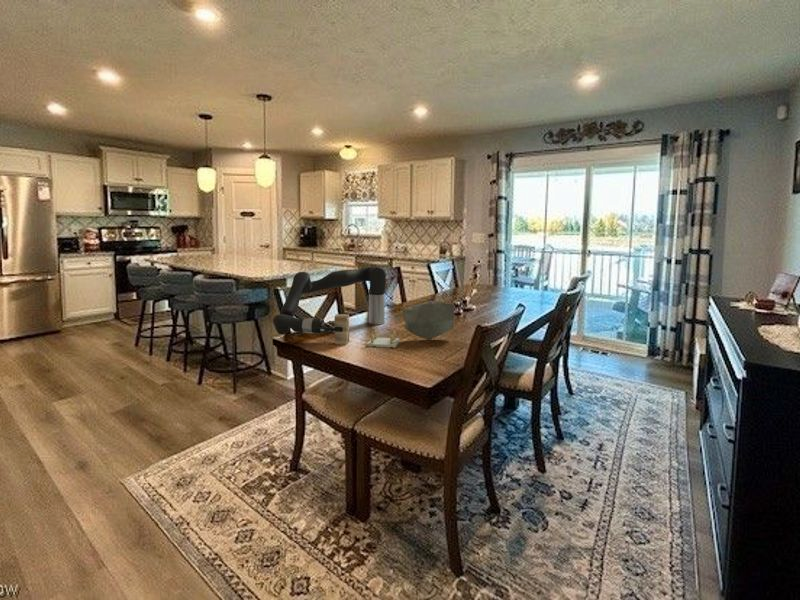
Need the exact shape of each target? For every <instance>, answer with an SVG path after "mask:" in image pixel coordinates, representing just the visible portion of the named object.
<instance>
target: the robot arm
mask: <svg viewBox="0 0 800 600" xmlns="http://www.w3.org/2000/svg"><path fill="white" fill-rule="evenodd" d="M311 280H312V279H311V276H310V273H308V272H306V271H299V272H296V273H295V275H294V276H293V279H292V282H291V283H292V284H291V287H290V290H289V292H288V294H287V296H286V299H285V301H284V303H283V305H282V307H281V309H280V313H279V314H277V315H275V316H274V317H273V318H272V323H273V325H274V329H275V331H276V332H277V333H278V335H282V336H283V335H286V334H288V333H289V332H290V330H292V331H293V332H295V333H306V334H313V335H314V334H316V335H322V334H323V333H324V334H333V333H335V332H342V331H343V327H335V320H329V321H327V322H325V320H324V319H323V318H320V317H319V318H318V317H315V318H313V317H308V318H307V317H305V318H304V317H303V318H301V317H296V316H295V314H296V312H297V310H298V307H299V304H300V299H301V295H305V294H309V293H314V292H318V291H323V290H329V289H336V288H343V287H344V288H345V287H349V286H352V285H355V284H358V283H361V282H369V289H368V324H370V325H383V324H385V323H386V320H385V317H386V314H385V313H386V311H385V310H386V306H385V305H386V304H385V303H386V302H385V301H386V299H385V297H386V294H385V292H386V287H387V274H386V271H385V269H384V268H382V267H381V266H379V265H372V266H369V267H364V268H360V269H359V268H358V269H344V270H335V271H331V272H330V273H328V274H326V275H325V276H324V277H322V278H320V279H318V280H313V281H311Z"/></svg>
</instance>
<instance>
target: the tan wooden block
mask: <svg viewBox="0 0 800 600" xmlns="http://www.w3.org/2000/svg"><path fill="white" fill-rule="evenodd" d="M334 321H335V327H343V331H342V332H334V345H345V344H347V345H348V344H349V343H350V314H343V313H340V314H339V313H336V314H335V315H334Z"/></svg>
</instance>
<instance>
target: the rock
mask: <svg viewBox="0 0 800 600" xmlns="http://www.w3.org/2000/svg"><path fill="white" fill-rule="evenodd" d="M455 309H456V308H455V305H454V304H453V303H448V302H445V301H439V300H438V301H433V300H428V301H426V302H422V303H419V304H416V305H412V306H406V307H404V308H403V309H402V313H401V315H402V319H403V321H404V323H405V324H404V325H403V327H404V330H406V331H407V332H408V333H410V334H412V335H414V336H416V337H418V338H419V337H420V338H422V339H425V340H428V339H429V340H430V339H431V340H432V339H433V338H438V337H439V336H443V335H444V334H446V333H448V332H450V331H452V330H454V326H455Z"/></svg>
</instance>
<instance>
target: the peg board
mask: <svg viewBox="0 0 800 600" xmlns="http://www.w3.org/2000/svg"><path fill="white" fill-rule="evenodd" d="M396 334H397V332H396V331H394V330H393V331H392V334H391V335H389V337H378V331H377V330H374V331H373V334H370V339H369V340H368V341H367V343H366V347H372V346H376V347H375V348H390V347H393V349H394V348H397V346H398V344H399V342H400V338H398V337H396Z"/></svg>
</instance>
